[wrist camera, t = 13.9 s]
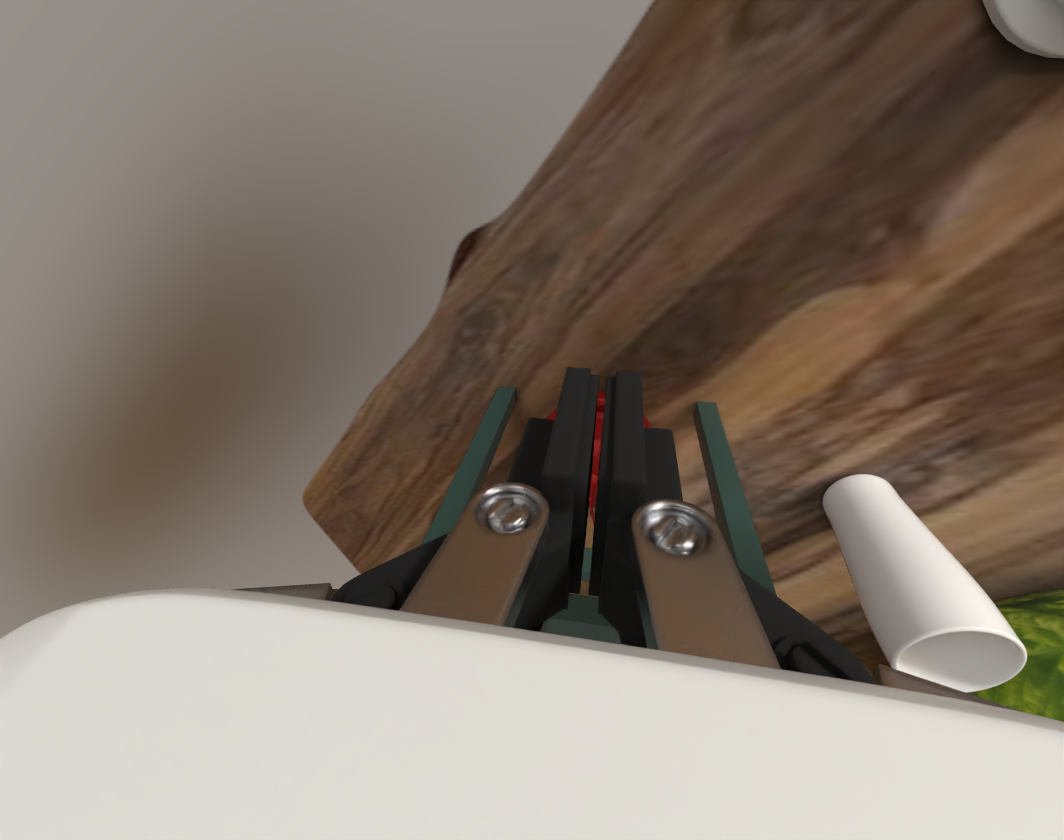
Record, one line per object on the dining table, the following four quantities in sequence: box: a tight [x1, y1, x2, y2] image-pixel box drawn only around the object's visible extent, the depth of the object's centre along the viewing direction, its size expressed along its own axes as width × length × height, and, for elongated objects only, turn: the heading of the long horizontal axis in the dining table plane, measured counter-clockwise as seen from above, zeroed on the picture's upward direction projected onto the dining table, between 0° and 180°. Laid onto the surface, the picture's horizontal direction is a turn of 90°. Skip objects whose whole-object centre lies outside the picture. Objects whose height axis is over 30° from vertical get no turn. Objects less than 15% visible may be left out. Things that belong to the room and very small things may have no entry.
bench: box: [422, 387, 776, 643], centre depth 35 cm, size 20×18×22 cm
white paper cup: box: [822, 474, 1027, 693], centre depth 34 cm, size 7×7×15 cm
